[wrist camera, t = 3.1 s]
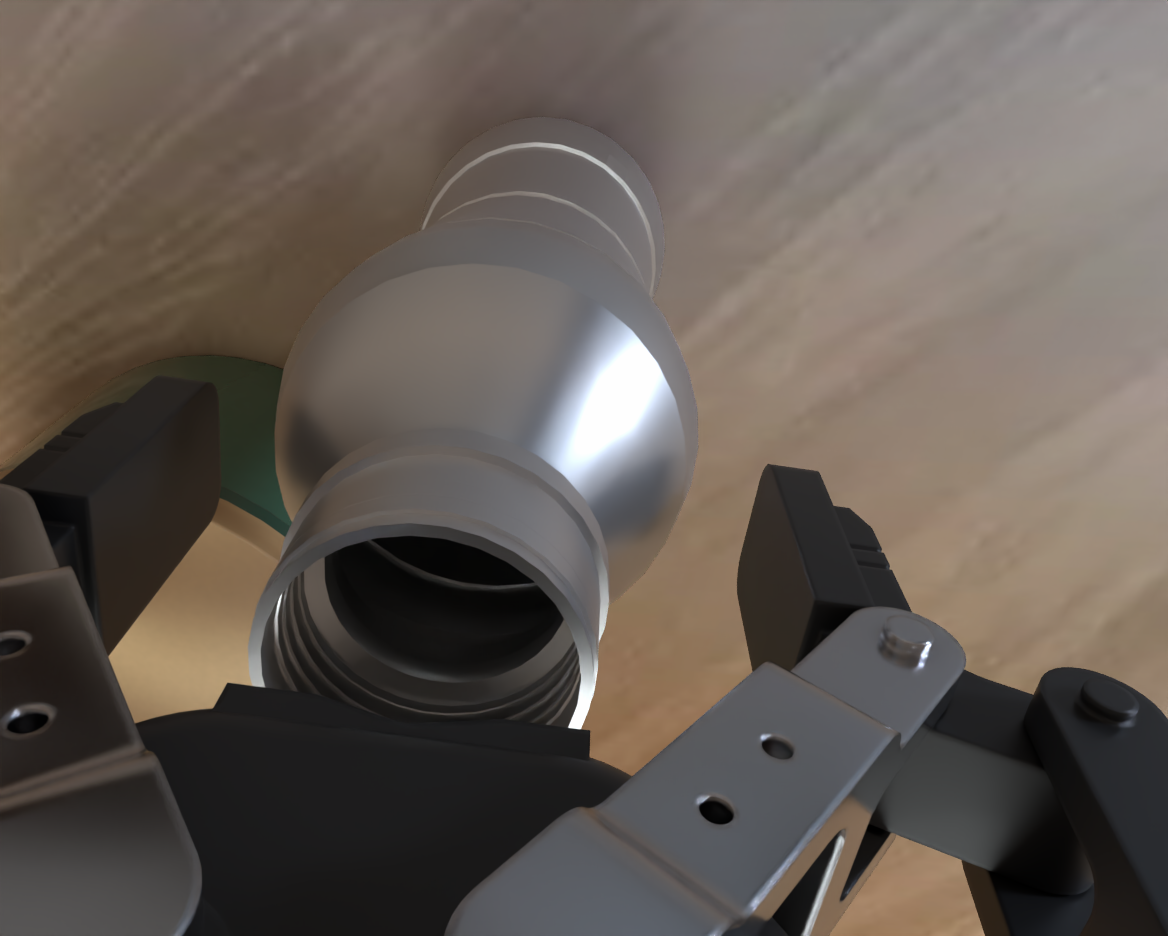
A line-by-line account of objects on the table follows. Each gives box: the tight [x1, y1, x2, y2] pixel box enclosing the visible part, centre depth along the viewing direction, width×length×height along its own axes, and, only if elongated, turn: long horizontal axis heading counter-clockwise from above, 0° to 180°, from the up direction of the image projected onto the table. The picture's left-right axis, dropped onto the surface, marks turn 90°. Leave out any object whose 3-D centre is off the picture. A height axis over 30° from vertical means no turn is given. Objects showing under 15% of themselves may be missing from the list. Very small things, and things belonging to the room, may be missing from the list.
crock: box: [0, 355, 292, 723], centre depth 29 cm, size 14×14×9 cm
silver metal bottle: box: [248, 117, 698, 729], centre depth 19 cm, size 6×7×20 cm
